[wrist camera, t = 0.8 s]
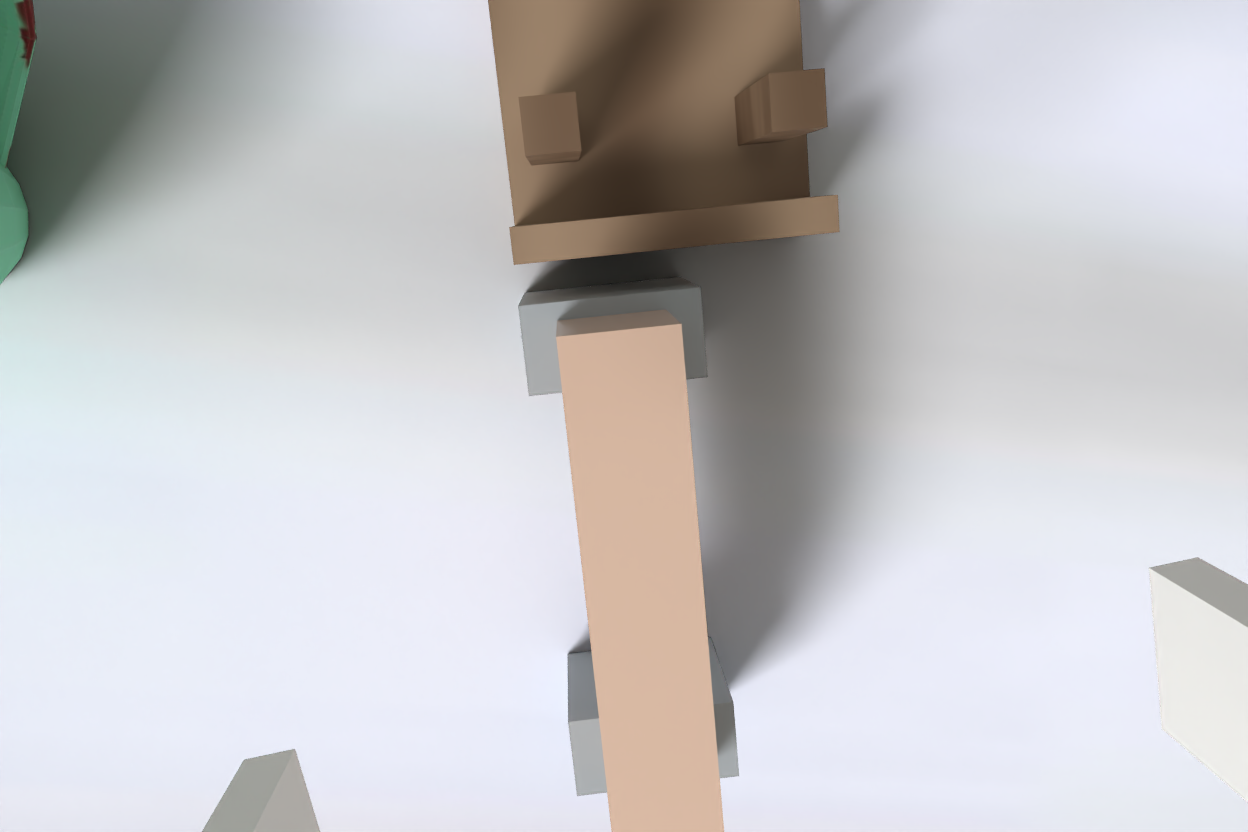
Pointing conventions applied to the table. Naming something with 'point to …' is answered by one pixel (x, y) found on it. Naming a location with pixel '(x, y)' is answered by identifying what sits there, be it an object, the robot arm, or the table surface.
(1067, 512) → the table surface
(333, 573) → the table surface
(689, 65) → the rack
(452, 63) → the table surface
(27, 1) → the mug
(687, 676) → the clay strip
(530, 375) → the grey blocks
